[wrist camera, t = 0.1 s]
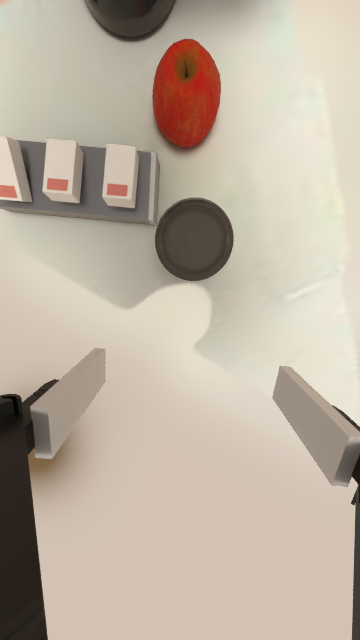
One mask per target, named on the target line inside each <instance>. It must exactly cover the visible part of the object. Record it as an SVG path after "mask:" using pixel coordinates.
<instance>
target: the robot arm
mask: <svg viewBox="0 0 360 640" xmlns="http://www.w3.org/2000/svg"><path fill="white" fill-rule="evenodd" d="M85 2H86V4H87V6H88V8H89V9H90V11H91V13H92V14H93V15H94V17H95V18H96V19H97V20H98V22H99V23H100V24H102V25H103V26H104V27H105V28H106V29H108V30H109V31H111V32H113V33H115V34H118V35H121V36H126V37H136V36H141V35H144V34H146V33H148V32H150V31H152V30H153V29H154V28H156V27H157V26H158V25H159V24H160V23H161V22H162V21H163V20H164V18H165V17H166V16H167V14H168V12H169V11H170V9H171V7H172V5H173V2H174V0H85ZM104 383H105V349H100V348H94V349H93V350H92V351H91V352H90V353H89V354H88V355H87V356H86V357H85V358H84V359H82V360H81V361H80V362H79V363H78V364H77V365H76V366H75V367H74V368H72V369H71V370H70V371H69V372H68V373H67V374H66V375H65V376H63V378H61V379H60V380H56V379H54V380H52V381H50V382H48V383H46V384H44V385H43V386H42V387H40V388H39V389H38V390H37V391H36V392H34V393H33V395H31V396H30V397H28V398H27V399H26V400H25V401H24V402H23V403H22V400H21V397H20V396H19V395H16V394H6V395H1V396H0V640H48V636H47V628H46V618H45V609H44V600H43V591H42V581H41V572H40V563H39V554H38V545H37V536H36V527H35V518H34V508H33V499H32V490H31V481H30V471H29V463H28V454H29V453H30V452H31V451H32V449H33V448H34V449H35V457H37V458H47V459H52V458H53V456H54V455H55V454H56V452H57V451H58V449H59V448H60V446H61V445H62V443H63V442H64V441H65V439H66V438H67V436H68V435H69V433H70V432H71V430H72V429H73V428H74V426H75V425H76V423H77V422H78V420H79V419H80V417H81V416H82V415H83V413H84V412H85V410H86V409H87V407H88V406H89V404H90V403H91V402H92V400H93V399H94V397H95V396H96V394H97V393H98V391H99V390H100V389H101V387H102V386H103V384H104ZM272 398H273V400H274V401H275V402H276V404H277V405H278V407H279V408H280V410H281V411H282V413H283V414H284V416H285V417H286V419H287V420H288V422H289V423H290V425H291V426H292V428H293V429H294V430H295V432H296V433H297V435H298V436H299V438H300V439H301V441H302V442H303V444H304V445H305V447H306V448H307V450H308V451H309V453H310V454H311V456H312V457H313V459H314V460H315V462H316V463H317V464H318V466H319V467H320V469H321V470H322V472H323V473H324V475H325V476H326V478H327V479H328V481H329V482H330V483H331V485H335V486H345V487H348V485H349V482H350V480H351V477H353V478H354V479H355V481H356V482H357V483H358V484H359V485H358V488H357V490H356V492H355V495H354V497H353V500H352V502H351V504H353V505H355V503H356V513H355V514H356V515H355V548H354V585H353V623H352V640H360V427H359V426H357V424H356V423H355V422H354V421H353V420H351V419H350V418H349V417H348V416H347V415H346V414H345V413H344V412H343V411H341V410H339V409H338V408H336V407H335V406H333V405H330V404H329V403H328V402H327V401H326V400H325V399H324V398H323V397H322V396H321V395H320V394H319V393H318V392H316V391H315V390H314V389H313V388H312V387H311V386H310V385H309V384H308V383H307V382H306V381H305V380H304V379H303V378H302V377H300V376H299V375H298V374H297V373H296V372H295V371H294V370H293V369H292V368H291V367H287V366H280V368H279V372H278V376H277V381H276V385H275V389H274V393H273V397H272Z"/></svg>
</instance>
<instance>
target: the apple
mask: <svg viewBox="0 0 360 640" xmlns="http://www.w3.org/2000/svg"><path fill="white" fill-rule="evenodd" d="M220 93H221V82H220V74H219V72H218V69H217V67H216V65H215V62H214V60H213V59H212V57H211V55H210V54H209V53H208V52H207V51H206V50H205V49H204V48H203V47H202V46H201V45H200V44H199V43H198V42H197V41H195V40H192V39H183V40H181V41H178V42H176V43H173V44H172V45H171V46H170V47H169V48H168V50H167V51H166V52H165V54H164V56H163V57H162V59H161V61H160V63H159V65H158V67H157V70H156V74H155V78H154V85H153V108H154V115H155V118H156V121H157V124H158V127H159V129H160V131H161V132H162V134H163V135H164V137H165V138H167V139H168V140H169V141H170V142H171V143H173V144H175V145H177V146H180V147H185V148H187V147H191V146H194V145H197V144H199V143H200V142H201V141H202V140H203V139H205V138H206V136H207V134H208V133H209V131H210V129H211V128H212V126H213V124H214V121H215V118H216V114H217V111H218V107H219V103H220Z"/></svg>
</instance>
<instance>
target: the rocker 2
mask: <svg viewBox="0 0 360 640" xmlns="http://www.w3.org/2000/svg"><path fill="white" fill-rule="evenodd" d="M83 156H84V153H83V152H82V150H81V148H80V146H79V145H78V143H77V141H73V140H62V139H51V138H47V143H46V155H45V167H44V179H43V191H42V192H43V193H45V194H46V195H47V196H48V197H49V198H50V199H51V200H52V201H61V202H72V203H80V191H81V180H82V168H83Z"/></svg>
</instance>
